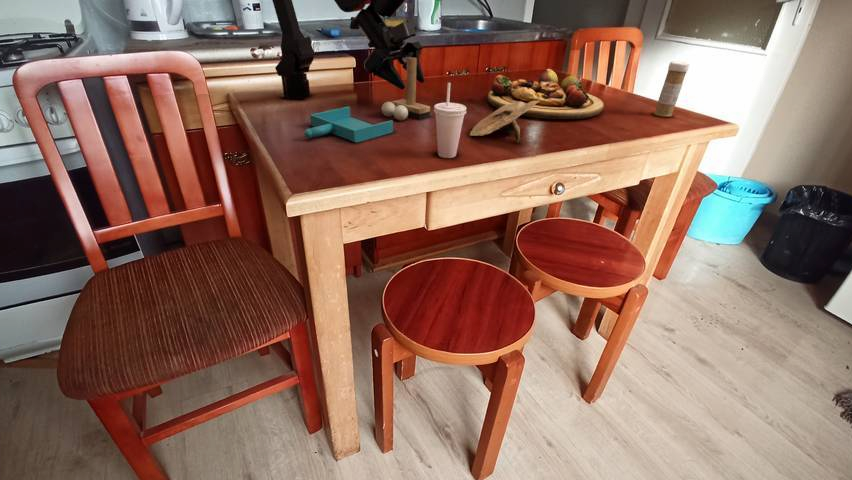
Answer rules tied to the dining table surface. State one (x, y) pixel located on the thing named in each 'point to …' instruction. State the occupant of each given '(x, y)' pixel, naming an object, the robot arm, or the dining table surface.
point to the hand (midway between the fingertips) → (413, 85)
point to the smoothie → (448, 126)
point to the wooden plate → (546, 96)
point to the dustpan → (345, 126)
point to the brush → (412, 94)
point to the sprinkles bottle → (671, 88)
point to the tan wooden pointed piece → (503, 119)
